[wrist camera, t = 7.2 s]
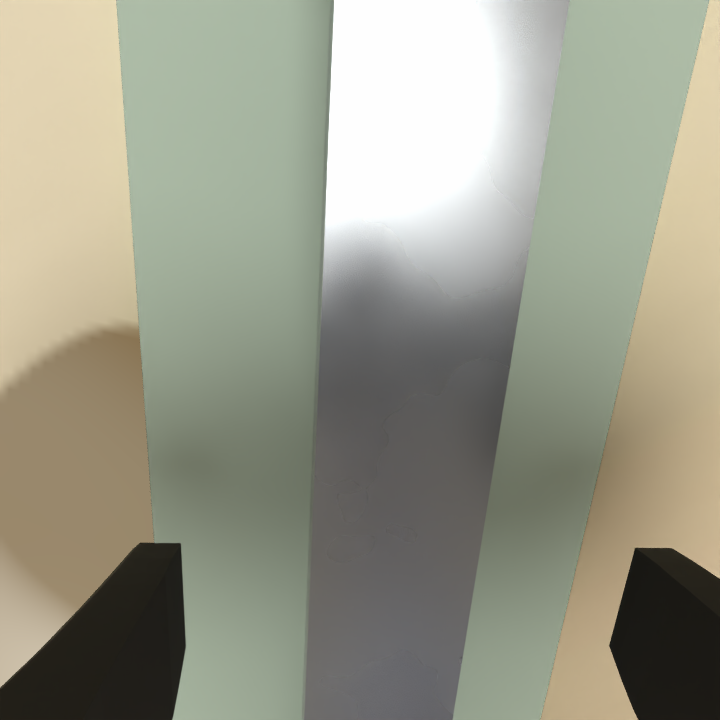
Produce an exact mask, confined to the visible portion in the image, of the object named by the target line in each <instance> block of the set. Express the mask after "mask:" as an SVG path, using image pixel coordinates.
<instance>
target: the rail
mask: <svg viewBox="0 0 720 720" xmlns="http://www.w3.org/2000/svg"><path fill="white" fill-rule="evenodd" d="M569 3H570V0H330V24H329V49H328V74H327V99H326V124H325V148H324V173H323V198H322V223H321V248H320V273H319V298H318V323H317V348H316V373H315V398H314V423H313V448H312V473H311V498H310V523H309V548H308V573H307V597H306V622H305V647H304V672H303V697H302V720H453V714H454V708H455V702H456V696H457V690H458V683H459V677H460V671H461V665H462V659H463V653H464V647H465V641H466V634H467V628H468V622H469V616H470V610H471V604H472V598H473V591H474V585H475V579H476V573H477V567H478V561H479V555H480V549H481V542H482V536H483V530H484V524H485V518H486V512H487V506H488V499H489V493H490V487H491V481H492V475H493V469H494V463H495V457H496V450H497V444H498V438H499V432H500V426H501V420H502V414H503V408H504V401H505V395H506V389H507V383H508V377H509V371H510V365H511V358H512V352H513V346H514V340H515V334H516V328H517V322H518V316H519V309H520V303H521V297H522V291H523V285H524V279H525V273H526V266H527V260H528V254H529V248H530V242H531V236H532V230H533V224H534V217H535V211H536V205H537V199H538V193H539V187H540V181H541V174H542V168H543V162H544V156H545V150H546V144H547V138H548V132H549V125H550V119H551V113H552V107H553V101H554V95H555V89H556V82H557V76H558V70H559V64H560V58H561V52H562V46H563V40H564V33H565V27H566V21H567V15H568V9H569Z"/></svg>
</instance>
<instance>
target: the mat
mask: <svg viewBox="0 0 720 720" xmlns="http://www.w3.org/2000/svg"><path fill="white" fill-rule="evenodd" d="M116 3H117V17H118V32H119V46H120V60H121V74H122V89H123V103H124V117H125V132H126V146H127V160H128V175H129V189H130V203H131V218H132V232H133V246H134V260H135V275H136V289H137V303H138V318H139V332H140V346H141V361H142V375H143V387H144V388H143V389H144V402H145V418H146V432H147V446H148V461H149V475H150V489H151V502H152V503H151V504H152V518H153V531H154V543H181V554H182V574H183V595H184V616H185V637H186V650H185V655H184V661H183V667H182V672H181V678H180V684H179V689H178V694H177V700H176V705H175V710H174V715H173V719H172V720H302V697H303V672H304V647H305V622H306V597H307V573H308V548H309V523H310V498H311V473H312V448H313V423H314V398H315V373H316V348H317V323H318V298H319V273H320V248H321V223H322V198H323V173H324V148H325V124H326V99H327V74H328V49H329V24H330V0H116ZM708 3H709V0H570V3H569V9H568V15H567V21H566V27H565V33H564V40H563V46H562V52H561V58H560V64H559V70H558V76H557V82H556V89H555V95H554V101H553V107H552V113H551V119H550V125H549V132H548V138H547V144H546V150H545V156H544V162H543V168H542V174H541V181H540V187H539V193H538V199H537V205H536V211H535V217H534V224H533V230H532V236H531V242H530V248H529V254H528V260H527V266H526V273H525V279H524V285H523V291H522V297H521V303H520V309H519V316H518V322H517V328H516V334H515V340H514V346H513V352H512V358H511V365H510V371H509V377H508V383H507V389H506V395H505V401H504V408H503V414H502V420H501V426H500V432H499V438H498V444H497V450H496V457H495V463H494V469H493V475H492V481H491V487H490V493H489V499H488V506H487V512H486V518H485V524H484V530H483V536H482V542H481V549H480V555H479V561H478V567H477V573H476V579H475V585H474V591H473V598H472V604H471V610H470V616H469V622H468V628H467V634H466V641H465V647H464V653H463V659H462V665H461V671H460V677H459V683H458V690H457V696H456V702H455V708H454V714H453V720H540V719H541V715H542V711H543V707H544V702H545V698H546V694H547V690H548V685H549V681H550V677H551V673H552V668H553V664H554V660H555V656H556V651H557V647H558V643H559V638H560V634H561V630H562V626H563V621H564V617H565V613H566V609H567V604H568V600H569V596H570V592H571V587H572V583H573V579H574V575H575V570H576V566H577V562H578V557H579V553H580V549H581V545H582V540H583V536H584V532H585V528H586V523H587V519H588V515H589V511H590V506H591V502H592V498H593V494H594V489H595V485H596V481H597V477H598V472H599V468H600V464H601V459H602V455H603V451H604V447H605V442H606V438H607V434H608V430H609V425H610V421H611V417H612V413H613V408H614V404H615V400H616V396H617V391H618V387H619V383H620V378H621V374H622V370H623V366H624V361H625V357H626V353H627V349H628V344H629V340H630V336H631V332H632V327H633V323H634V319H635V315H636V310H637V306H638V302H639V297H640V293H641V289H642V285H643V280H644V276H645V272H646V268H647V263H648V259H649V255H650V251H651V246H652V242H653V238H654V234H655V229H656V225H657V221H658V217H659V212H660V208H661V204H662V199H663V195H664V191H665V187H666V182H667V178H668V174H669V170H670V165H671V161H672V157H673V153H674V148H675V144H676V140H677V136H678V131H679V127H680V123H681V118H682V114H683V110H684V106H685V101H686V97H687V93H688V89H689V84H690V80H691V76H692V72H693V67H694V63H695V59H696V55H697V50H698V46H699V42H700V37H701V33H702V29H703V25H704V20H705V16H706V12H707V8H708Z"/></svg>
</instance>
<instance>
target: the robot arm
mask: <svg viewBox="0 0 720 720" xmlns="http://www.w3.org/2000/svg"><path fill="white" fill-rule="evenodd" d="M609 646H610V649H611V652H612V655H613V657H614V660H615V663H616V666H617V668H618V671H619V674H620V677H621V680H622V682H623V685H624V687H625V690H626V692H627V695H628V697H629V700H630V702H631V705H632V707H633V710H634V712H635V714H636V716H637V718H638V720H720V579H719V578H717V577H716V576H714V575H713V574H711V573H710V572H709V571H707V570H706V569H704V568H702V567H701V566H699V565H698V564H696V563H695V562H693V561H692V560H690V559H689V558H687V557H685V556H684V555H682V554H680V553H679V552H677V551H675V550H674V549H672V548H635V551H634V555H633V558H632V562H631V566H630V570H629V573H628V577H627V581H626V585H625V588H624V592H623V596H622V600H621V604H620V607H619V611H618V615H617V619H616V622H615V626H614V630H613V634H612V637H611V641H610V645H609ZM185 650H186V637H185V616H184V595H183V574H182V554H181V543H139V544H138V545H137V546H136V547H135V548H134V549H133V550H132V551H131V552H130V553H129V554H128V555H127V556H126V557H125V559H124V560H123V561H122V562H121V563H120V565H119V566H118V567H117V568H116V569H115V570H114V571H113V572H112V573H111V575H110V576H109V577H108V578H107V579H106V580H105V581H104V582H103V583H102V585H101V586H100V587H99V588H98V589H97V590H96V591H95V592H94V594H93V595H92V596H91V597H90V598H89V599H88V600H87V601H86V602H85V603H84V604H83V605H82V607H81V608H80V609H79V610H78V611H77V612H76V613H75V614H74V615H73V616H72V617H71V618H70V619H69V620H68V621H67V622H66V623H65V624H64V625H63V626H62V627H61V629H59V630H58V632H57V633H56V634H55V635H54V636H53V637H52V638H51V639H50V640H49V641H48V642H47V643H46V644H45V645H44V646H43V647H42V648H41V649H40V650H39V651H38V652H37V653H36V654H35V655H34V656H33V657H32V658H31V659H30V660H29V661H28V662H27V663H26V664H25V665H24V666H23V667H21V668H20V669H19V670H18V671H17V672H16V673H15V674H14V675H13V676H12V677H11V678H10V679H9V680H8V681H7V682H6V683H5V684H4V685H3V686H2V687H1V688H0V720H172V719H173V715H174V710H175V705H176V700H177V694H178V689H179V684H180V678H181V672H182V667H183V661H184V655H185Z"/></svg>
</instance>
